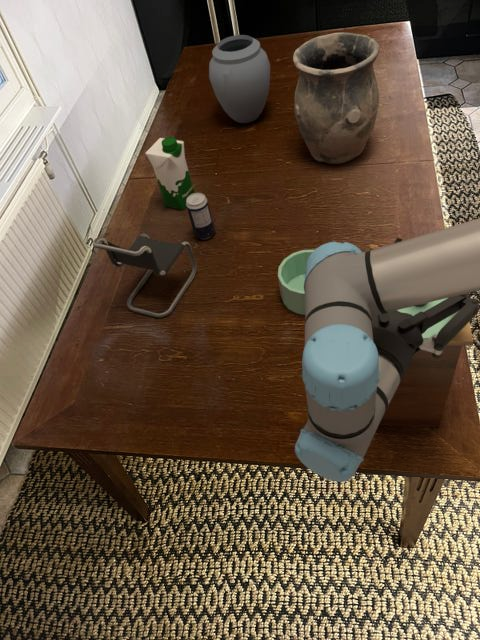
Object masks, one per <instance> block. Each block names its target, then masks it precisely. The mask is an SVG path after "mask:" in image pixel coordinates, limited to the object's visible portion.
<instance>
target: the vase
mask: <svg viewBox="0 0 480 640" xmlns="http://www.w3.org/2000/svg"><path fill="white" fill-rule="evenodd" d="M211 54H212V57H211V59H210V60H209V65H208V79H209V81H210V84H211V86H212V89H213V92H214V95H215V98H216V99H217V101H218V103H219V105H220V106H221V107H222V109H223V111H224V112H225V113H226V115H228V116H229V118H230V119H232V120H233V121H235V122H236V123H239V124H249V123H252V122H254V121H257V119H258V118H259V117H260V115H261V114H262V113H263V110H264V108H265V106H266V103H267V100H268V96H269V92H270V91H269V90H270V84H271V63H270V60H269V57H268V55H267V52H266V51H265V50H264V49H263V48H262V47H261V42H260V41H259V40H257V39H256V38H254V37H252V36H250V35H247V34H236V35H235V34H234V35H231V36H228V37H225V38H224V39H222V40H220V41H219V42H218V43H217V44H216V45H215V46H214V47H213V49H212V50H211Z"/></svg>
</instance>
